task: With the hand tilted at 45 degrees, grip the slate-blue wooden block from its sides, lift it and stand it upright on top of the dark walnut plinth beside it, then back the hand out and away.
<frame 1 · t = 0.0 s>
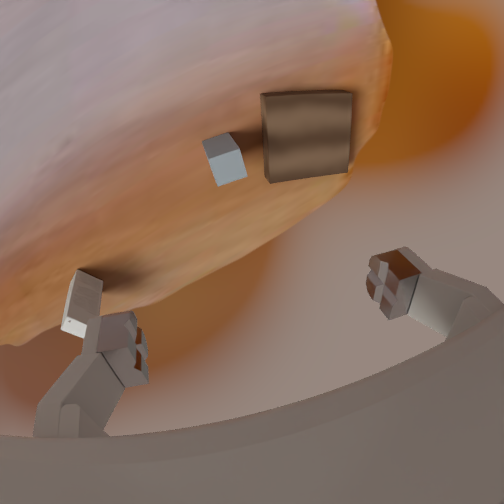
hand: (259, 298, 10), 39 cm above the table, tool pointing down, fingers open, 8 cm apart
skincare box: (87, 280, 54), on the table
slate block: (218, 148, 46), on the table
walnut plinth: (304, 131, 47), on the table
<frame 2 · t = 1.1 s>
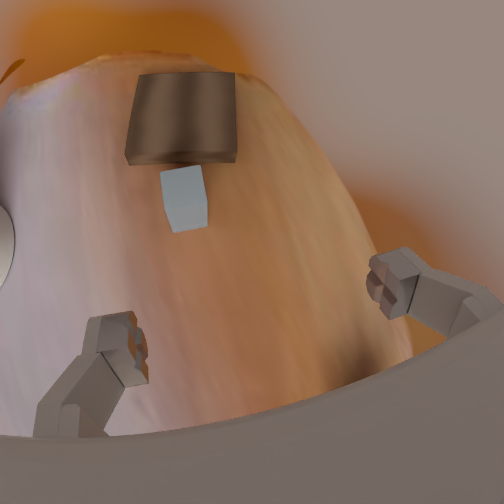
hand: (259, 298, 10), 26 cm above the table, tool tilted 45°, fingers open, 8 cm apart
slate block: (187, 213, 37), on the table
walnut plinth: (183, 120, 40), on the table
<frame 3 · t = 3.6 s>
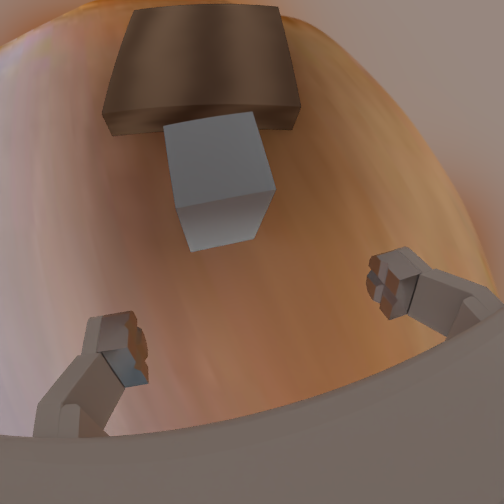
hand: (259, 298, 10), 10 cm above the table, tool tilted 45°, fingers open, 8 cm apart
slate block: (215, 215, 21), on the table
walnut plinth: (202, 68, 23), on the table
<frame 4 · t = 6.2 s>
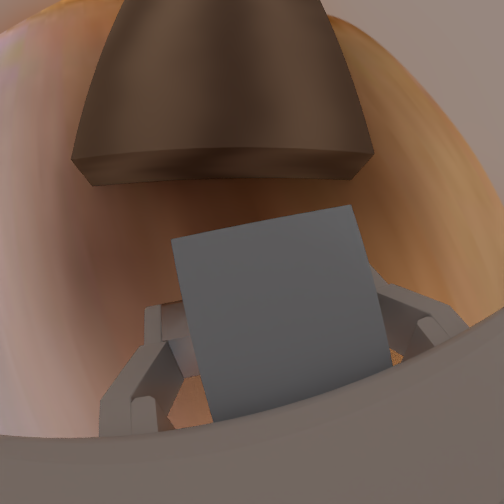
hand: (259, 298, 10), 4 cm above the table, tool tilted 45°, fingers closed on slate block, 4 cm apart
slate block: (250, 318, 14), on the table, touching gripper
walnut plinth: (220, 80, 17), on the table
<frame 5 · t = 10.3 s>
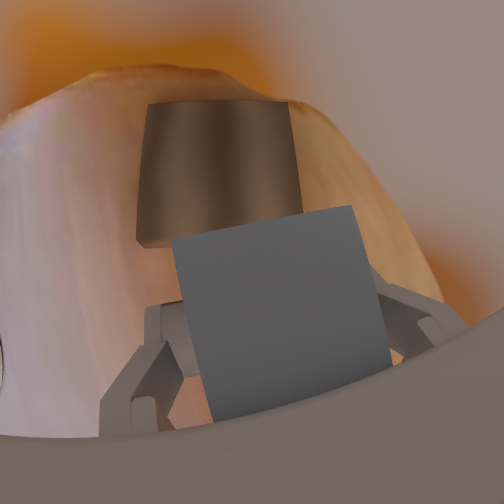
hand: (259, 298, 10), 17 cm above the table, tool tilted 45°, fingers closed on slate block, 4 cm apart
slate block: (250, 319, 14), point 13 cm above the table, touching gripper
walnut plinth: (218, 174, 29), on the table
when the fingers open (9 cm above the table, at t = 14.7 s): slate block drops 1 cm, resting on walnut plinth.
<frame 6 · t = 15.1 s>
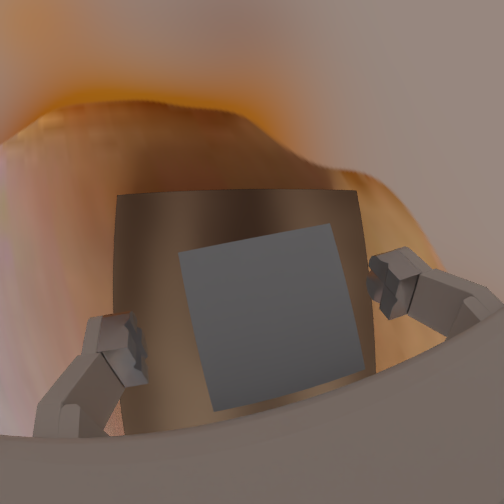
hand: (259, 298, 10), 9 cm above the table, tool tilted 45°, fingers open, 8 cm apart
slate block: (246, 318, 16), point 3 cm above the table, touching walnut plinth
walnut plinth: (243, 319, 18), on the table
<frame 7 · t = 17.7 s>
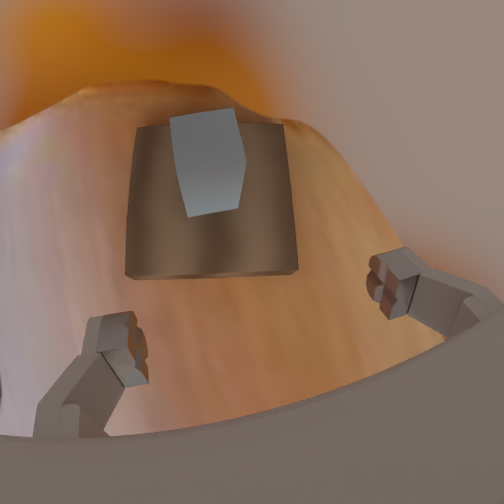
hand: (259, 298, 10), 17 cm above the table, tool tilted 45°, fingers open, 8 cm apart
slate block: (208, 189, 26), point 3 cm above the table, touching walnut plinth
walnut plinth: (210, 202, 29), on the table
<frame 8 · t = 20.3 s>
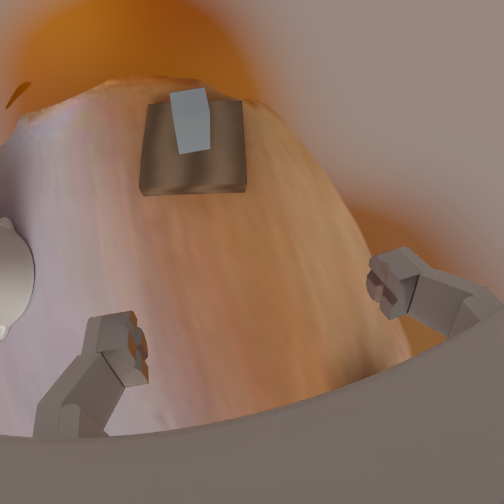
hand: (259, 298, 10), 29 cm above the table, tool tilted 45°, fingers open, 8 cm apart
slate block: (192, 139, 40), point 3 cm above the table, touching walnut plinth
walnut plinth: (194, 150, 43), on the table
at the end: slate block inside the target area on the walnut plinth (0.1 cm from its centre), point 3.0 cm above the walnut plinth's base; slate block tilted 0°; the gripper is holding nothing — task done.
